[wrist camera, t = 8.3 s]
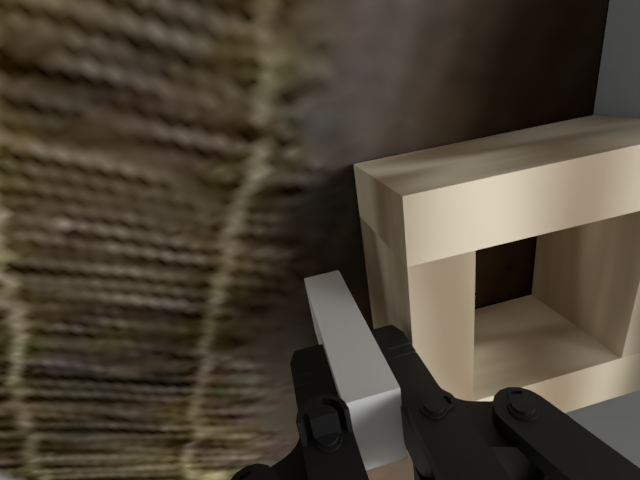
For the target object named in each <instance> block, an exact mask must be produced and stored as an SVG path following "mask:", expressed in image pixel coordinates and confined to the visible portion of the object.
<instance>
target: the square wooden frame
mask: <svg viewBox="0 0 640 480" xmlns="http://www.w3.org/2000/svg"><path fill="white" fill-rule="evenodd" d="M353 166H354V174H355V182H356V191H357V199H358V207H359V215H360V223H361V231H362V240H363V248H364V256H365V264H366V272H367V280H368V289H369V297H370V305H371V313H372V321H373V329H376V328H380V327H384V326H388V325H391V324H392V325H394V326H395V327H397V328H398V329H400V330H401V331H403V332H404V334H405V335H406V337H407V338H408V340H409V341H410V343H411V344H412V346H413V347H414V349H415V350H416V353H418V355H419V356H420V358H421V359H422V361H423V362H424V364H425V365H426V367H427V368H428V370H429V372H430V373H431V375H432V376H433V378H434V379H435V381H436V382H437V384H438V385H439V386H440V387H441V389H443V390H445V391H447V392H449V393H451V394H452V395H453V396H454V397H455V398H458V399H461V400H466V401H493V399H494V395H495V394H496V393H497V392H498V391H499V390H501V389H504V388H507V387H521V388H524V389H528V390H531V391H533V392H535V393H536V394H538V395H540V396H542V397H543V398H544V399H546V400H547V401H548V402H550V403H551V404H553V405H554V406H555V407H557V408H558V409H559V410H561V411H562V412H564V413H566V412H570V411H573V410H576V409H579V408H583V407H586V406H589V405H592V404H596V403H599V402H602V401H606V400H609V399H612V398H615V397H619V396H622V395H625V394H628V393H632V392H635V391H638V390H640V118H638V117H622V116H605V115H590V116H586V117H581V118H576V119H571V120H566V121H561V122H556V123H551V124H546V125H542V126H537V127H532V128H527V129H522V130H517V131H512V132H507V133H502V134H497V135H493V136H488V137H483V138H478V139H473V140H468V141H463V142H458V143H453V144H449V145H444V146H439V147H434V148H429V149H424V150H419V151H414V152H409V153H404V154H400V155H395V156H390V157H385V158H380V159H375V160H370V161H365V162H360V163H356V164H353ZM534 236H537V242H536V253H535V263H534V274H533V284H532V295H528V296H524V297H521V298H517V299H513V300H509V301H505V302H501V303H498V304H494V305H490V306H486V307H482V308H478V309H475V265H476V250H480V249H484V248H488V247H492V246H496V245H500V244H505V243H509V242H513V241H517V240H521V239H525V238H529V237H534Z"/></svg>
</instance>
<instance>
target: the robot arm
mask: <svg viewBox="0 0 640 480" xmlns="http://www.w3.org/2000/svg"><path fill="white" fill-rule="evenodd" d="M304 282H305V286H306V291H307V296H308V300H309V305H310V310H311V315H312V319H313V324H314V329H315V333H316V336H317V339H318V343H319V345H316V346H313V347H309V348H305V349H301V350H298V351H294V354H293V357H292V360H291V363H290V364H291V370H292V376H293V382H294V388H295V394H296V400H297V406H298V413H297V420H296V425H297V428H298V432H299V436H300V438H299V441H298V443H297V445H296V447H295V448H294V449H293V450H292V452H291V453H290V454H289V455H287V456H286V457H285V458H284V459H282V460H281V461H279V462H278V463H276V464H275V465H273V466H272V467H269V466H268V465H264V464H253V465H249V466H246V467H245V468H243V469H242V470H240V471H239V472H237V473H236V474H235V475H234V476H233V478H232V479H231V480H369V479H368V476H367V473H366V470H370V469H373V468H376V467H379V466H383V465H386V464H389V463H392V462H395V461H399V460H402V459H405V458H407V451H406V448H407V450H408V452H409V454H410V456H411V459H412V461H413V467H414V478H415V480H640V468H639V467H638V466H636V465H635V464H633V463H632V462H631V461H629V460H628V459H627V458H625V457H624V456H622V455H621V454H620V453H618V452H617V451H616V450H614V449H613V448H612V447H610V446H609V445H607V444H606V443H605V442H603V441H602V440H601V439H599V438H598V437H596V436H595V435H594V434H592V433H591V432H590V431H588V430H587V429H585V428H584V427H583V426H581V425H580V424H579V423H577V422H576V421H575V420H573V419H572V418H570V417H569V416H568V415H566V414H565V413H564V412H562V411H561V410H559V409H558V408H557V407H555V406H554V405H553V404H551V403H550V402H548V401H547V400H546V399H544V398H543V397H542V396H540V395H538V394H536V393H535V392H533V391H531V390H528V389H524V388H521V387H507V388H504V389H501V390H499V391H498V392H497V393H496V394H495V395H494V399H493V401H466V400H461V399H458V398H455V397H454V396H453V395H452V394H451V393H449V392H447V391H445V390H443V389H441V387H440V386H439V385H438V384H437V382H436V381H435V379H434V378H433V376H432V375H431V373H430V372H429V370H428V368H427V367H426V365H425V364H424V362H423V361H422V359H421V358H420V356H419V355H418V353H416V350H415V349H414V347H413V346H412V344H411V343H410V341H409V340H408V338H407V337H406V335H405V334H404V332H403V331H401V330H400V329H398V328H397V327H395V326H394V325H392V324H391V325H388V326H384V327H380V328H376V329H373V330H370V329H369V327H368V325H367V323H366V321H365V319H364V318H363V316H362V314H361V312H360V310H359V308H358V306H357V304H356V302H355V300H354V298H353V297H352V295H351V293H350V291H349V289H348V287H347V285H346V283H345V281H344V279H343V277H342V276H341V274H340V272H339V270H336V271H332V272H328V273H324V274H320V275H316V276H312V277H308V278H304Z"/></svg>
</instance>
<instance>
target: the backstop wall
mask: <svg viewBox="0 0 640 480" xmlns="http://www.w3.org/2000/svg"><path fill="white" fill-rule="evenodd" d="M593 115H605V116H622V117H638V118H640V0H609V7H608V14H607V21H606V28H605V35H604V42H603V49H602V56H601V63H600V70H599V77H598V84H597V91H596V98H595V105H594V112H593ZM566 413H567V414H568V415H569V416H570V417H571V418H572V419H573V420H575V421H576V422H577V423H579V424H580V425H581V426H583V427H584V428H585V429H587V430H588V431H590V432H591V433H592V434H594V435H595V436H596V437H598V438H599V439H601V440H602V441H603V442H605V443H606V444H607V445H609V446H610V447H612V448H613V449H614V450H616V451H617V452H618V453H620V454H621V455H622V456H624V457H625V458H627V459H628V460H629V461H631V462H632V463H633V464H635V465H636V466H638V467H639V468H640V390H638V391H635V392H632V393H628V394H625V395H622V396H619V397H615V398H612V399H609V400H606V401H602V402H599V403H596V404H592V405H589V406H586V407H583V408H579V409H576V410H573V411H570V412H566Z"/></svg>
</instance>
